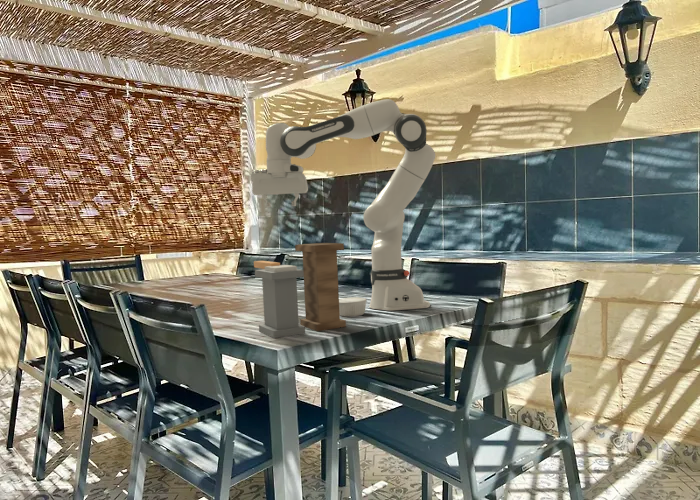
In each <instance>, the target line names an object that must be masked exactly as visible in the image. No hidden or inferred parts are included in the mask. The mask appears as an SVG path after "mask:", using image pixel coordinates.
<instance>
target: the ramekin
mask: <svg viewBox="0 0 700 500" xmlns="http://www.w3.org/2000/svg"><path fill="white" fill-rule="evenodd" d="M367 302H368V301H367V298H364V297H357V296H355V297H354V296H353V297H342V298H339V313H340V317H345V318H346V317H358V316H362V315H364V314H365V313H366V306H367Z"/></svg>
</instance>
